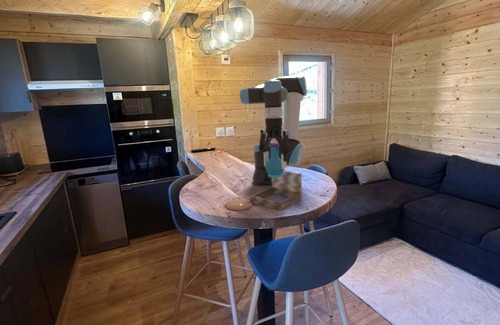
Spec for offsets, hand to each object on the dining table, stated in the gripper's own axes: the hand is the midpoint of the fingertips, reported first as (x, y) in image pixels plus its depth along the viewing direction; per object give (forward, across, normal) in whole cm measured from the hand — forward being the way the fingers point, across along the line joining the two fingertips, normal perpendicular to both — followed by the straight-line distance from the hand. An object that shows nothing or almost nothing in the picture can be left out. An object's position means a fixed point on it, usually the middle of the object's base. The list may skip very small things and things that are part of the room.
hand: (275, 166), depth 124 cm
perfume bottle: (+4, 0, 0) cm, 4 cm away
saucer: (+16, -10, -15) cm, 24 cm away
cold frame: (+16, 0, -1) cm, 16 cm away
